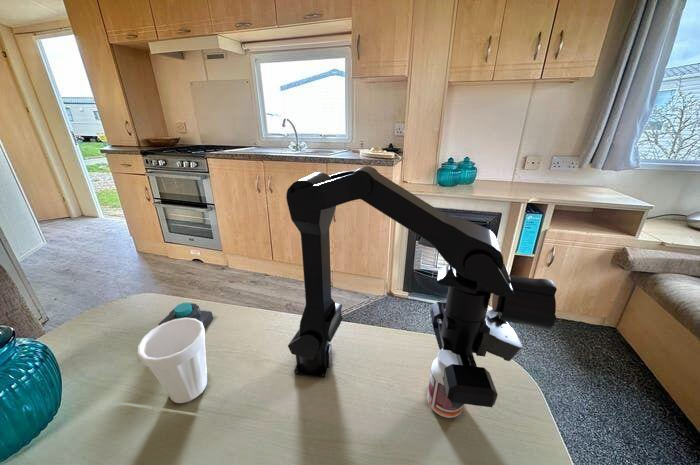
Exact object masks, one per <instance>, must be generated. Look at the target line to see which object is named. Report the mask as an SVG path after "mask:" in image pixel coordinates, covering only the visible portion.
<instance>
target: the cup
mask: <svg viewBox="0 0 700 465" xmlns="http://www.w3.org/2000/svg"><path fill="white" fill-rule="evenodd" d="M205 339H206V330H205V328H204V326H203V324H202V322H200V321H199V320H197V319H195V318H180V319H174V320H171V321H168V322H166V323H163V324H161V325H157V326H156V327H154V328H152V329H151V330H150V331H148V333H146V334H145V335H144V336H143V337H142V338H141V340H140V342H139V343H138V345H137V347H136V350H137V356H138V358H139V359H140V361H141V362H142V364H144V365H145V366H146V367H147V368H149V369H150V371H151V372H152V373H153V375H154V376H155V377H156V379H157V381H158V382H159V384H160V385H161V386H162V388H163V389H164V390H165V392H166V393H167V394H168V396H169V398H170V400H171V401H172V402H173V403H176V404H184V403H189V402H191V401H193V400H194V399H196V398H198V396H200V395H201V394H202V393H203V392H204V390H205V389H206V388H207V384H208V372H207V371H208V370H207V355H206V354H207V353H206V341H205Z"/></svg>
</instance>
